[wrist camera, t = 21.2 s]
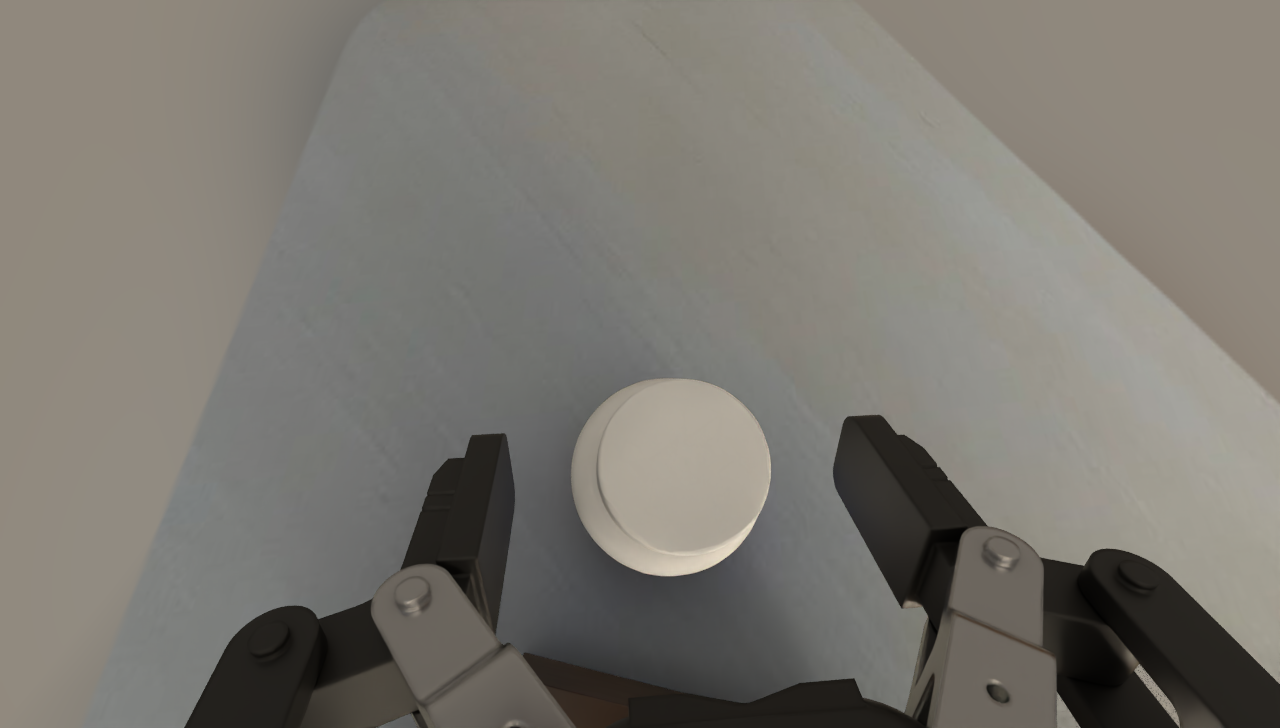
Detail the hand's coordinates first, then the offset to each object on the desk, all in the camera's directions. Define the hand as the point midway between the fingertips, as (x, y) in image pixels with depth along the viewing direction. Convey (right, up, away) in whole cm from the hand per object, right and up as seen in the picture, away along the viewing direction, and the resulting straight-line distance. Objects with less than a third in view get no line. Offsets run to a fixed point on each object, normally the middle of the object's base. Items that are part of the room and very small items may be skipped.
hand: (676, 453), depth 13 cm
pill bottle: (-1, -3, +9) cm, 9 cm away
